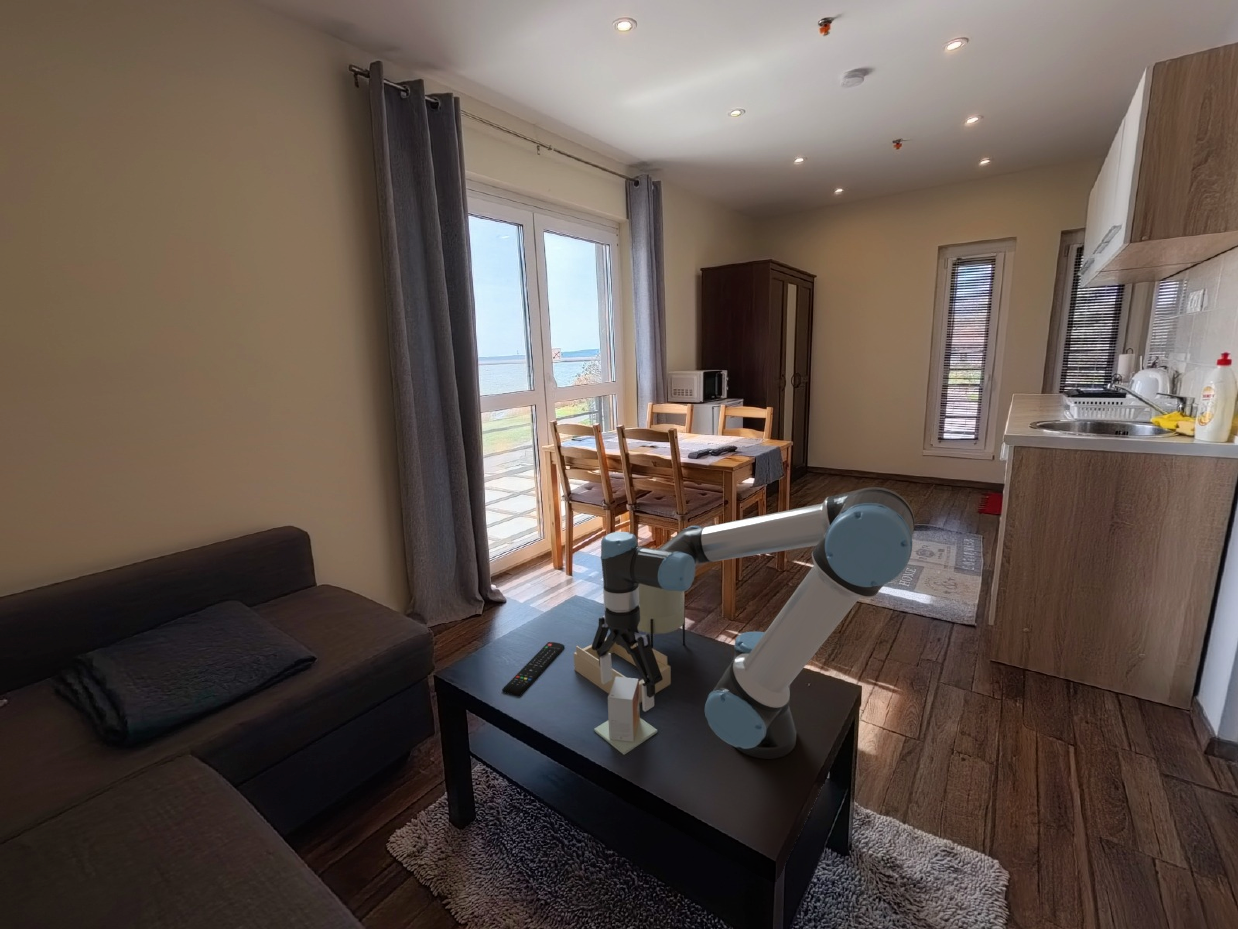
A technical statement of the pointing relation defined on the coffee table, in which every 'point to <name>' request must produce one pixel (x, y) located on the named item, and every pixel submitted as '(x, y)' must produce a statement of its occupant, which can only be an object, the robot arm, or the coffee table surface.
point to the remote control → (533, 669)
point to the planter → (661, 611)
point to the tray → (590, 668)
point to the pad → (624, 747)
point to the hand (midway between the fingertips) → (626, 694)
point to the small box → (623, 709)
